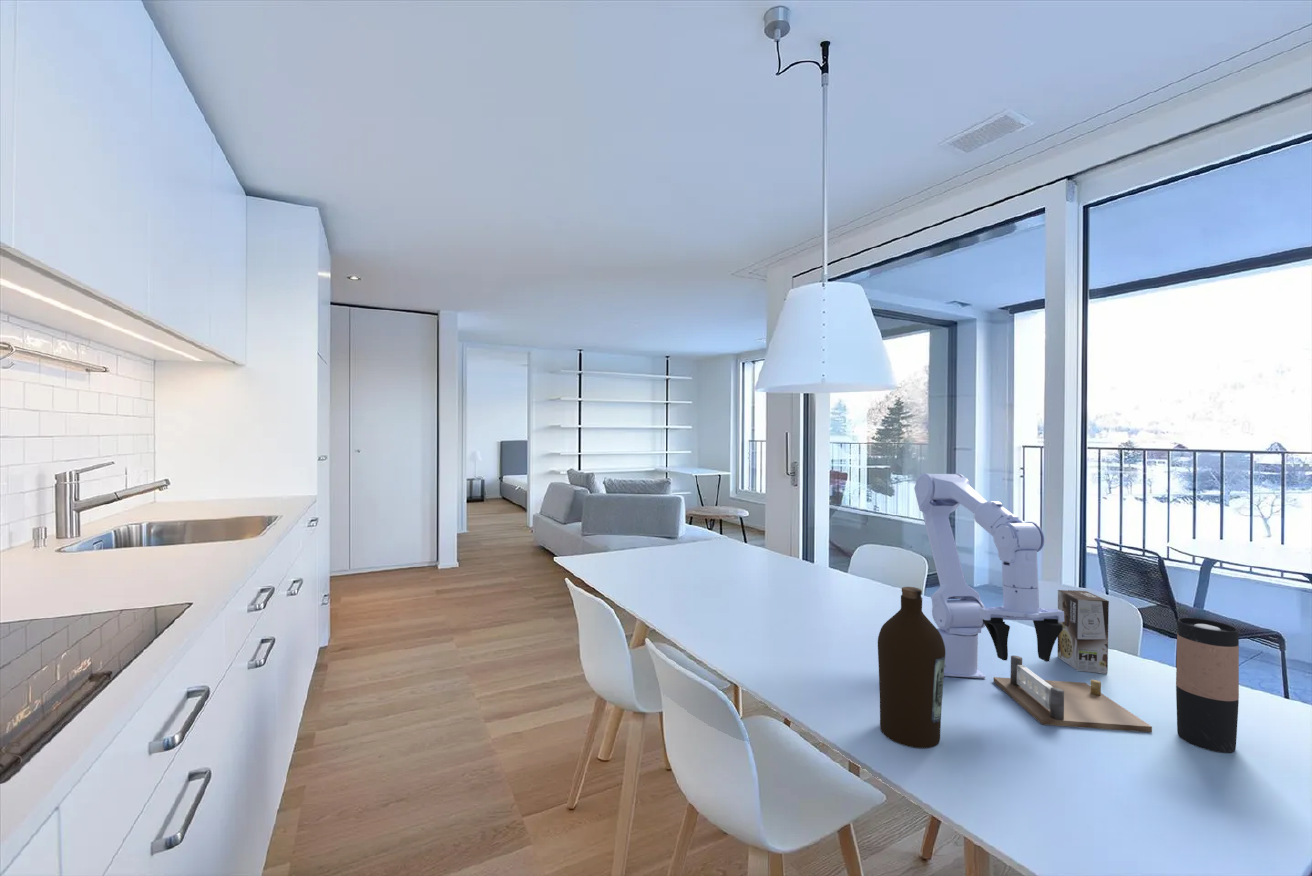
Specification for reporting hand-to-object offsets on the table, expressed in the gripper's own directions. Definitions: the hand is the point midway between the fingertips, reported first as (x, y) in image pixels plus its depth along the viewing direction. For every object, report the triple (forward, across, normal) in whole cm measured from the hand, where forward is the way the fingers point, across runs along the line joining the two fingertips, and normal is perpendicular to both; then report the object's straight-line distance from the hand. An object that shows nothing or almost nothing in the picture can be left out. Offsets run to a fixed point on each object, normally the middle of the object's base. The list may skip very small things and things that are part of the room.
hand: (1023, 659), depth 105 cm
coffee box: (+8, +28, +25) cm, 38 cm away
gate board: (+10, +10, +4) cm, 14 cm away
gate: (+8, +4, +3) cm, 9 cm away
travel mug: (+11, +25, -8) cm, 29 cm away
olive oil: (+10, -25, -10) cm, 29 cm away
